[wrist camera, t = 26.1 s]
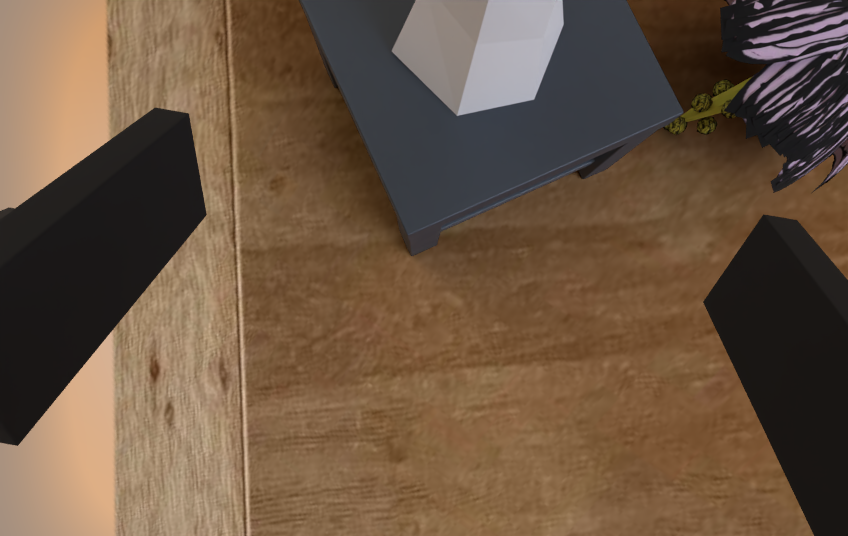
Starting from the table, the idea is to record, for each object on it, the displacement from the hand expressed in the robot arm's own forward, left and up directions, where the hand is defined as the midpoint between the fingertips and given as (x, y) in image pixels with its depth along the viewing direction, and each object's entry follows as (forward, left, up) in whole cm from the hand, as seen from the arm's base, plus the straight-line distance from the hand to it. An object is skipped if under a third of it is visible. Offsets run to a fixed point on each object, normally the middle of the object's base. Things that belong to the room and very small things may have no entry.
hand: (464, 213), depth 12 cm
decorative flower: (-3, +22, -19) cm, 29 cm away
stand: (-9, +6, -19) cm, 22 cm away
